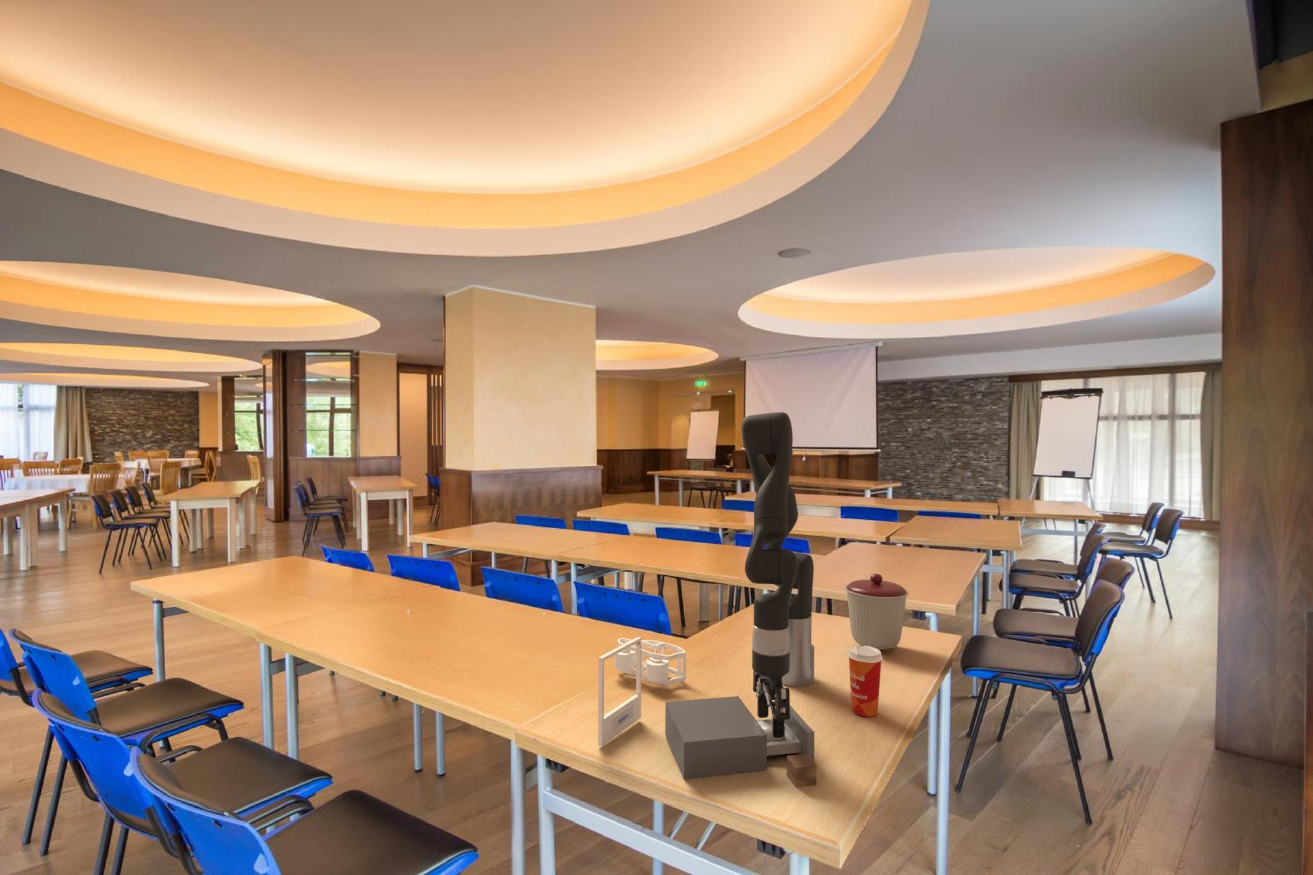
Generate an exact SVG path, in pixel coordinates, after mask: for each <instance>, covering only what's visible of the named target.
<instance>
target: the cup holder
mask: <svg viewBox="0 0 1313 875" xmlns="http://www.w3.org/2000/svg"><path fill="white" fill-rule="evenodd" d="M631 640H632V639H629V638H623V637H620V638H618V639H617V646H618V647H619V646H621V645H623V644H625V643H627V642H629V641H631ZM641 647H644V648H648V649H650V650H653V651H652V652H651V651H649V650H648V651H647V650H645V649H643V648H641V680H644V681H647V682H650V683H654V684H660V685H665V686H671V685H673V684H677V683H684V682H686V680H687V677H686V676H687V653H686V650H685V649H683V648H682V647H681V646H678V645H675V644H671V643H669V642H664V641H659V640H649V639H648V640H647V639H645V640H644V639H641ZM665 648H667V649H670V650H672V651H676V652H675V653H672V654H669V655H666V654H665ZM660 649H661V651H660V652H661V653H657V650H660ZM644 656H645V657H648V658H647V659H646V660H645V658H644ZM681 658H682V663H681ZM675 659H677V660H676V661H677V662H676V663H677V668H674V667H671V666H669V661H673V660H675ZM644 660H645V661H646V662H645V661H644ZM681 664H682V666H681ZM613 667H614V668H615V669H616V670H618V671H619V672H622V673H624V674H627V675H631V676H635V677H636V644H634V645H632V646H630V647H629V648H627V649H625V650H623V651H621V652H619V653H617V654H616V655H614V666H613ZM681 667H682V671H681ZM634 669H635V670H634ZM644 671H645V673H644ZM669 673H671V674H674V675H676V677H672V678H670V679H669Z"/></svg>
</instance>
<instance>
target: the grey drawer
mask: <svg viewBox="0 0 1313 875" xmlns="http://www.w3.org/2000/svg"><path fill="white" fill-rule="evenodd" d="M773 702H776V700H773ZM775 710H776V707H775ZM780 712H781V709H780ZM762 720H773V718H762V719H756V721H757V722H759V721H762ZM784 726H785V740H784V741H776V742H767V757H768V756H779V755H788V754H789V755H790V754H797V755H801V754H808V755H809V757H810V758H811V759H812V760H813V762H814V763H815V731H814V730H813V729H812V728H811V727H810V726H809V724H807V722H806V721H805V720H804V718H802V716H800V714H799V713H798V712H797V711H796V710H795V709H794V708H793V707H792V706H791V705H790V719H789V720H784Z"/></svg>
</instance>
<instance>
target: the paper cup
mask: <svg viewBox="0 0 1313 875" xmlns="http://www.w3.org/2000/svg"><path fill="white" fill-rule="evenodd" d="M846 656H848V665H849V666H848V667H849V686H850V687H849V688H850V689H849V690H850V703H851V712H853V713H854V714H855V715H858V716H860V717H865V718H872V717H875V716H877V714H878V709H879V697H880V683H881V673H882V672H881V670H882V661H883V659H884V658H883V656H882V652H881V650H879V649H876V648H874V647H870V646H861V645H853V646H851V647H849V650H848V651H847V655H846Z"/></svg>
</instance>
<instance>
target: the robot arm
mask: <svg viewBox="0 0 1313 875" xmlns="http://www.w3.org/2000/svg"><path fill="white" fill-rule="evenodd" d="M741 436H742V442H743V446H744V449H745V453H746V456H747V459H748V464H749V466H750V472H751V474H752V478H753V484H754V488H755V499H754V504H753V534H752V540H751V543H750V547H749V549H748V551H747V552H748V553H747V556H746V558H745V564H744V573H745V576H746V578H747V580H749V581H750V582H751V583H752V584H755V585H756V584H758V585H773V586H776V587H778V588H777V589H776V590H775V591H772V592H768V593H766V592H765V593H762V594H759V595H757V596H756V597H755V598H754V600H753V628H752V636H751V646H752V647H751V649H752V650H751V652H752V653H751V669H752V670H753V672H752V674H753V676H752V678H753V679H752V680H753V681H752V691H753V692H754V693H755V698H756V699H757V712H756V713H757V717H758V718H759V719H768V717H769V716H770V715H769V709H771V715H772V716H771V717H772V719H773V722H772V735H773V736H774V738H782V737H784V720H789V719H790V706H791V699H790V698H791V696H790V695H791V693H790V688H789V687H798V688H799V687H804V686H809V685H810V684H814V683H815V645H813V643H812V621H813V620H812V614H813V610H812V609H813V608H812V607H813V586H814V573H815V566H814V560H813V557H812V556H811V554H808V553H802V552H801V553H800V552H793V551H792V550H791V549H786V548H785V549H784V548H783V544H784V542H785V540H786V539H787V537H788V536H789V535H790V534H791V532H792V530H793V529H794V527H795V526H796V523H797V521H798V517H799V511H798V510H799V509H798V503H797V498H796V494H795V491H794V489H793V488H792V486H791V485H790V474H791V467H792V466H791V465H792V453H793V442H794V441H793V438H794V437H793V426H792V421H791V418H790V416H789V414H787V413H786V412H783V411H778V412H777V411H775V412H767V413H758V414H751V415H747V416H745V417H743V419H742V422H741ZM767 454H768V455H770V454H776V457H775V462H774V465H772V466H771V465H770V464H769V463H768V461H767V459H766V456H765V455H767ZM765 547H766V548H765ZM793 590H797V594H796V595H794V596H792V592H793ZM784 686H786V687H784ZM787 686H788V687H787ZM774 700H776V702H774ZM775 707H776V710H775ZM780 709H781V712H780Z"/></svg>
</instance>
